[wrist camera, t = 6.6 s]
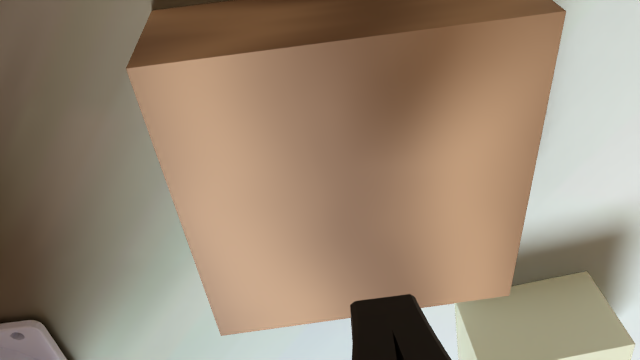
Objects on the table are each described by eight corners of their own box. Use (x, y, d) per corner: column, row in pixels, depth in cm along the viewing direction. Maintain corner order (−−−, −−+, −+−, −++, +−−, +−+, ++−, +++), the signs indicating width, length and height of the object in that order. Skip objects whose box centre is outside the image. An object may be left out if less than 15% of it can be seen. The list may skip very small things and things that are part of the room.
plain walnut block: (226, 251, 21) (221, 335, 18) (153, 6, 15) (126, 68, 12) (471, 218, 21) (509, 295, 18) (501, -39, 15) (565, 11, 12)
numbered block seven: (457, 365, 28) (485, 446, 24) (453, 294, 24) (484, 378, 21) (571, 343, 27) (615, 422, 24) (584, 267, 24) (638, 348, 20)
